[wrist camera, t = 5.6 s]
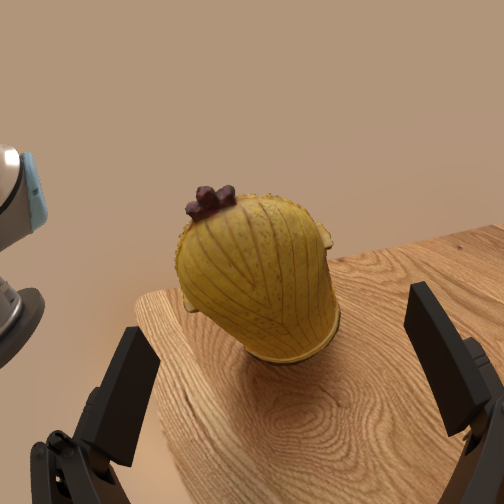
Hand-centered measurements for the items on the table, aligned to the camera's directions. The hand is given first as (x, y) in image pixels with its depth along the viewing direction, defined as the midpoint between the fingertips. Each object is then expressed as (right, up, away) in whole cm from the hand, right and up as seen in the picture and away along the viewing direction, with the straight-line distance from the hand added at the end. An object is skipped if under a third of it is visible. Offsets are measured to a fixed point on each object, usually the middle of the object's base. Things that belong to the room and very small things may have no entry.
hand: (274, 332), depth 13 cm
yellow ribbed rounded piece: (+2, -4, +8) cm, 9 cm away
